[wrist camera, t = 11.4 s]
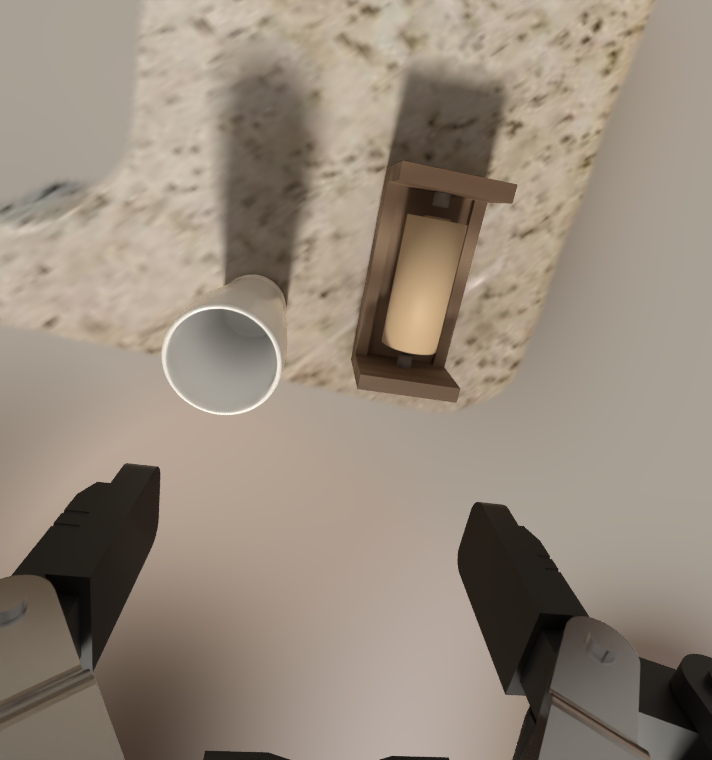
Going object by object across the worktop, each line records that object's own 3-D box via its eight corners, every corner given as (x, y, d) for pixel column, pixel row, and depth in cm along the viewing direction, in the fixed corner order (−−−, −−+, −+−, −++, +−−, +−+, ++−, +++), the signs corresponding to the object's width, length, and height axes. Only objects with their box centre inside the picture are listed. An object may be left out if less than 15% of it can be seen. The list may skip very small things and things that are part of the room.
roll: (402, 210, 37) (414, 212, 33) (457, 221, 38) (476, 224, 33) (377, 335, 40) (385, 351, 36) (428, 342, 41) (442, 359, 37)
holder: (387, 166, 37) (402, 160, 30) (483, 186, 38) (517, 184, 31) (351, 359, 42) (357, 388, 36) (435, 371, 43) (456, 402, 37)
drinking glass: (197, 301, 39) (132, 358, 25) (254, 246, 38) (219, 275, 24) (255, 357, 42) (224, 438, 28) (311, 307, 40) (308, 366, 26)
